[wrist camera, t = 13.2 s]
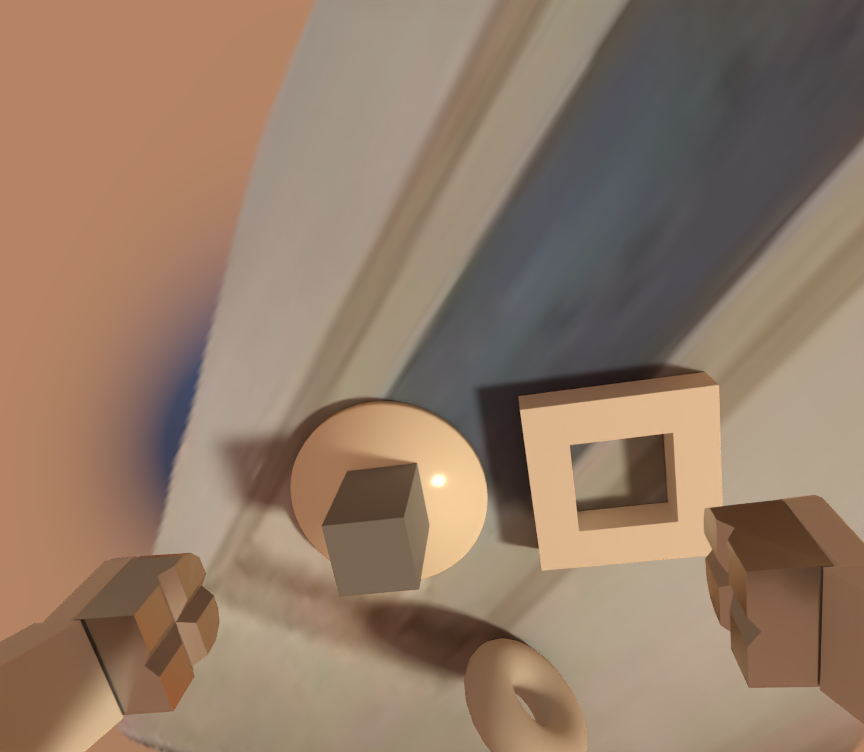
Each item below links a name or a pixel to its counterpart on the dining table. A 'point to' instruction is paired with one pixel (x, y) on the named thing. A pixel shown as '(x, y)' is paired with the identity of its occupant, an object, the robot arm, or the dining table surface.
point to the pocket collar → (617, 419)
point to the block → (377, 530)
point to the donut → (539, 688)
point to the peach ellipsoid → (388, 446)
